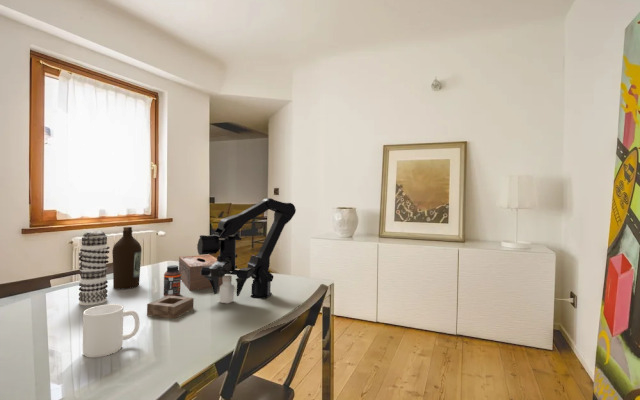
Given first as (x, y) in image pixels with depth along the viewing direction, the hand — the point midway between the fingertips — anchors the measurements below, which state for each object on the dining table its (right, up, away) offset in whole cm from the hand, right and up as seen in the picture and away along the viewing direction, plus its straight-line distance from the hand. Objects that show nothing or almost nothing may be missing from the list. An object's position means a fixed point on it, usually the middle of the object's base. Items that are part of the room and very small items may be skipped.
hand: (226, 295), depth 122 cm
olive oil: (-47, -2, +18) cm, 50 cm away
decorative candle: (-47, -2, -3) cm, 47 cm away
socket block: (-15, -3, -12) cm, 19 cm away
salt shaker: (0, -3, 0) cm, 3 cm away
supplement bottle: (-23, -2, +7) cm, 24 cm away
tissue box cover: (-20, -3, +28) cm, 35 cm away
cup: (-18, -2, -39) cm, 43 cm away
